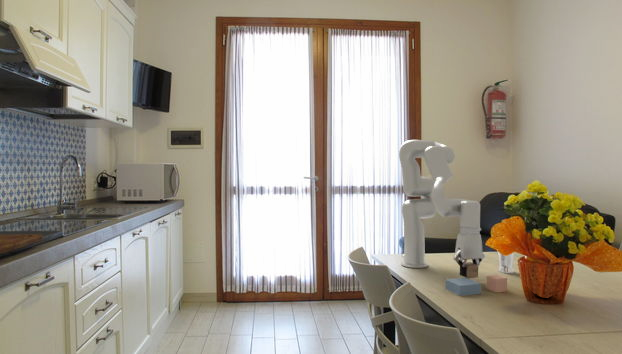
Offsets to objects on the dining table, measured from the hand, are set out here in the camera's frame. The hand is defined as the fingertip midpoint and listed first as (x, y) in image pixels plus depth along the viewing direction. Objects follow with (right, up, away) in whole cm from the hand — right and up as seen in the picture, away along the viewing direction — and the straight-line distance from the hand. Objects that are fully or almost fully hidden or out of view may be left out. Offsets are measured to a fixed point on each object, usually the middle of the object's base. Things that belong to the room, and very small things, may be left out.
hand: (468, 274), depth 164 cm
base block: (-7, -3, -13) cm, 15 cm away
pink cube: (+6, -3, -11) cm, 13 cm away
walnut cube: (0, -1, 0) cm, 1 cm away
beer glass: (+23, -3, +15) cm, 27 cm away
